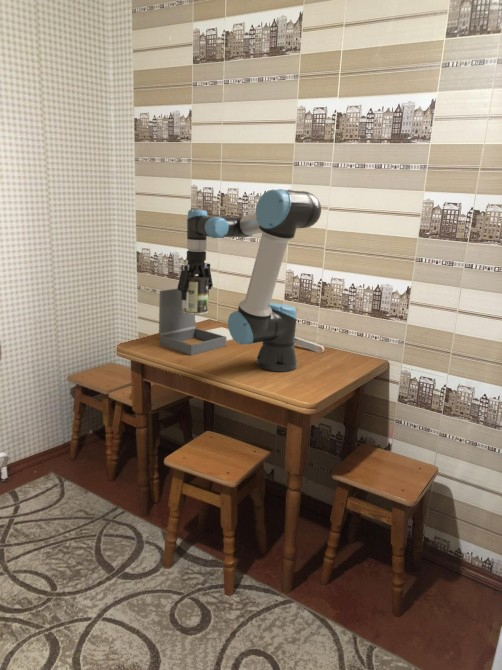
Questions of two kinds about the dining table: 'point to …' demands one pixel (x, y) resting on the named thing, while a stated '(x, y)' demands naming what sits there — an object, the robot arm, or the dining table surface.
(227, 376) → the dining table surface
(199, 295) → the coffee can
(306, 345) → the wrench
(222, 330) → the mat
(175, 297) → the case
